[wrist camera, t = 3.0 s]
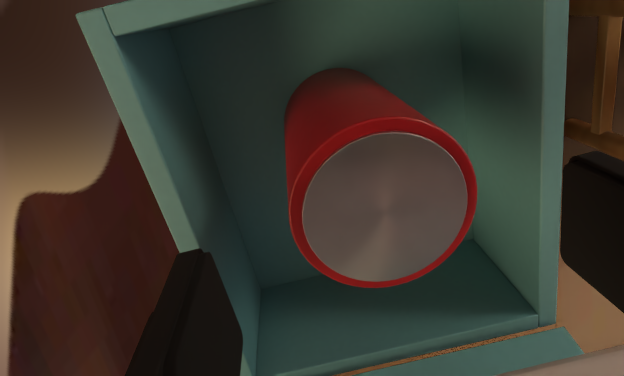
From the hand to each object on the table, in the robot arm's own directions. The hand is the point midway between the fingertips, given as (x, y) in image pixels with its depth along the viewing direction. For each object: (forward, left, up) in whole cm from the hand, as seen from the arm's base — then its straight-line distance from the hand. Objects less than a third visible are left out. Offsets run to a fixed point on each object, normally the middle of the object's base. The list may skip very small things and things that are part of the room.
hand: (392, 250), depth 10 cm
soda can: (0, 0, -12) cm, 12 cm away
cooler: (+1, 0, -13) cm, 13 cm away
